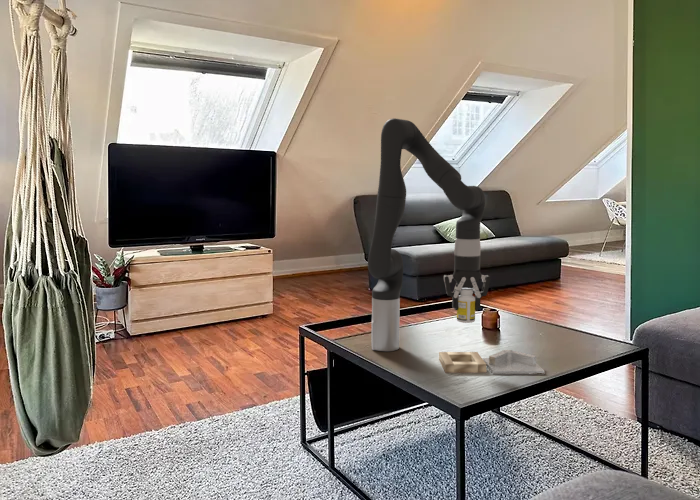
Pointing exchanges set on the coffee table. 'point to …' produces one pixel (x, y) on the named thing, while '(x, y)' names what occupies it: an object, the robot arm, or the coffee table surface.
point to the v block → (512, 363)
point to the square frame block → (462, 362)
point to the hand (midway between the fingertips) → (466, 309)
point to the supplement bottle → (466, 306)
